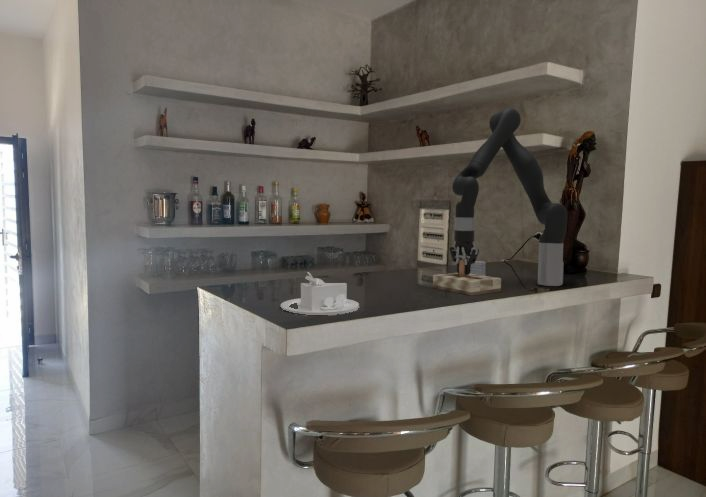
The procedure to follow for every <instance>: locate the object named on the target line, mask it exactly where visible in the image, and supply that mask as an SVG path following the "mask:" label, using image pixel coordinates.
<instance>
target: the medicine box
mask: <svg viewBox="0 0 706 497" xmlns="http://www.w3.org/2000/svg"><path fill="white" fill-rule="evenodd" d="M486 265H487V264H486V261H484V260H483V261H482V260H476V261H475V263H473V264H471V271H470V274H477V275H483V276H486Z"/></svg>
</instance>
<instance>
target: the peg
mask: <svg viewBox="0 0 706 497" xmlns="http://www.w3.org/2000/svg"><path fill="white" fill-rule="evenodd" d="M464 270H465V261H464V259H462V260H459V277H465V278H468V275H465V274H464Z"/></svg>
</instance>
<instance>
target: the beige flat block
mask: <svg viewBox="0 0 706 497" xmlns="http://www.w3.org/2000/svg"><path fill="white" fill-rule="evenodd" d="M432 288H433V289H437V290H440V291H441V290H442V291H448V292H452V293H457V294H463V295H467V296H472V297H473V296H476V295H477V296H478V295H486V294H492V293H499V292H502V277H501V278H500V277H497V276H490V275H488V276H487V275H485V276H483V275H477V274H469V275H468V278H465V277H459V273H457V272H452V273H443V274H440V273H439V274H432Z"/></svg>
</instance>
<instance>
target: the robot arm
mask: <svg viewBox="0 0 706 497" xmlns="http://www.w3.org/2000/svg"><path fill="white" fill-rule="evenodd" d="M521 120H522V118H521V115H520V113H519V111H518V110H516V109H514V108H511V107H510V108H505V109H503V110H500V111H498V112H496V113H494V114H492V115H491V116H490V118H489V123H488V124H489V129H490V132H492V134H491V135H490V136H489V137H488V139H487V140H486V141H485V142H484V143H482V145H481V146H480V147H479V148H478V149H477V150H476V152H475V153H474V154H473V156H472V158H471V159H470V161H469V163H468V164H467V165H466V167H464V168H463V169H462V170H461V171H460V173H459V174H457V176H456V177H455V179H454V180H453V182H452V186H451V187H452V192H453V193H454V194H455V195H457V196H461V200H460V201H459V202H456V204H455V211H454V212H455V219H454V231H453V232H454V234H453V236H454V237H453V238H454V239H453V240H454V242H455V244H454V245H453V246H449V251H450V255H451V260H452V262H454V263H456V271H457V272H456V273H459V260H462V259H464V261H465V270H464V274H465V275H469V274H470V271H471V264H473V263H475V261H477V258H478V255H479V252H480V249H478V248H476V247H474V242H475V226H476V225H475V206H476V202H477V198H478V195H479V191H480V190H479V189H480V185H479V182H478V180H477V179H479V178H480V177H483V175H484V174H485V172H486V171H487V169H488V167H489V166H490V165H491V163H492V162H493V160H494V159H495V157H496V155H498V152H499V151H500V150H501V149H503V151H504V153H505V155H506V157H507V159H508V161H509V162H510V164H511V167H512V168H513V170H514V172H515V175H516V176H517V178H518V180H519V182H520V183H521V185H522V188H523V189H524V192H525V193H526V195H527V197H528V199H529V201H530V204H531V205H532V208H533V211H534V213H535V217H536V218H537V221H538V222H539V223H541V224H542V226H543V225H544V230H543V233H542V234H541V235H540V236H539V239H538V240H539V241H538V242H539V243H538V259H537V260H538V261H537V263H538V265H537V267H538V268H537V285H541V286H546V287H547V286H548V287H559V286H563V284H564V261H563V260H564V259H563V258H564V240H565V237H566V235H567V228H568V227H567V225H568V211H567V208H566V207H565V206H564V205H563V204H561V203H556V202H552V201H551V200H550V198H549V196H548V193H546V190H545V186H544V185H545V184H544V183H545V182H544V173H543V170H542V168H541V166H540V164H539V162H538V160H537V159H536V157H535V155H534V154H533V153H532V152H531V151H530V150H529V149H527V148H526V147H525V146H524V145H523V144H521V143H520V142H519V141H518V139H517V138H516V136H515V132H516V131H517V129H518V128H519V126H520V125H521Z"/></svg>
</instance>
